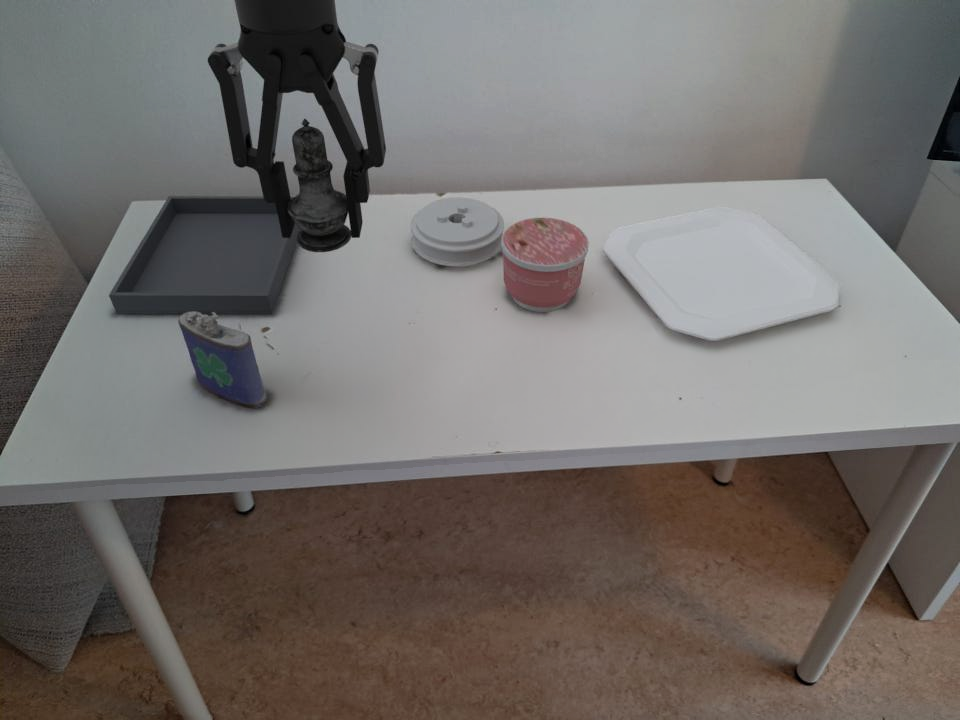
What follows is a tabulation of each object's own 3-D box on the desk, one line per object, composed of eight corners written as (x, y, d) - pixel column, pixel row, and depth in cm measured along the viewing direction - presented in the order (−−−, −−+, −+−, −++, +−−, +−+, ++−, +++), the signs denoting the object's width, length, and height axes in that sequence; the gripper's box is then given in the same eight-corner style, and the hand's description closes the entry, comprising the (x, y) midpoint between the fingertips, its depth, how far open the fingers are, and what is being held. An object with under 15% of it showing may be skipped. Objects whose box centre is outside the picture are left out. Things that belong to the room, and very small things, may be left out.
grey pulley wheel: (393, 242, 101) (390, 211, 98) (463, 211, 107) (463, 180, 104) (451, 284, 94) (450, 251, 91) (522, 248, 100) (523, 216, 97)
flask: (272, 397, 79) (251, 321, 72) (253, 414, 77) (230, 338, 70) (209, 368, 83) (183, 293, 75) (190, 384, 81) (161, 309, 73)
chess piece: (284, 251, 69) (259, 131, 61) (305, 218, 73) (284, 102, 65) (344, 256, 68) (327, 136, 60) (361, 223, 73) (347, 106, 65)
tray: (272, 314, 90) (267, 295, 88) (116, 313, 90) (108, 295, 88) (305, 213, 107) (302, 196, 105) (174, 213, 107) (168, 195, 105)
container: (561, 262, 98) (565, 210, 93) (596, 308, 91) (604, 255, 85) (488, 278, 95) (488, 226, 90) (518, 327, 88) (521, 273, 83)
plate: (856, 313, 90) (863, 299, 89) (683, 359, 84) (686, 345, 82) (739, 213, 107) (743, 200, 106) (587, 245, 101) (589, 231, 100)
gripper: (408, -48, 57) (422, 209, 73) (168, -48, 57) (234, 209, 73) (402, -19, 52) (418, 252, 68) (136, -20, 52) (215, 252, 68)
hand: (323, 229), depth 70 cm, fingers closed on chess piece, 6 cm apart
